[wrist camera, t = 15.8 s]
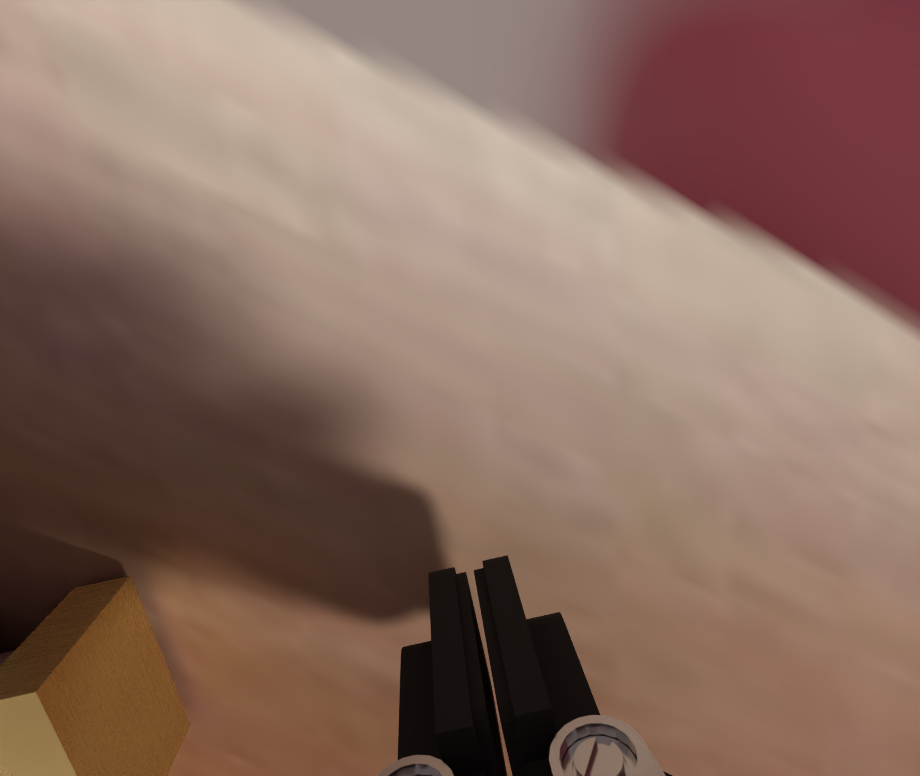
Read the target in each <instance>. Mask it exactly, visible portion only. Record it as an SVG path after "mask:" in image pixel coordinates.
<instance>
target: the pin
mask: <svg viewBox="0 0 920 776" xmlns="http://www.w3.org/2000/svg"><path fill="white" fill-rule="evenodd" d="M189 726H190V721H189V719H188V716H187V714H186V711H185V709H184V706H183V704H182V701H181V699H180V696H179V694H178V691H177V689H176V687H175V684H174V682H173V679H172V677H171V674H170V672H169V669H168V667H167V664H166V662H165V659H164V657H163V654H162V652H161V650H160V647H159V645H158V642H157V640H156V637H155V635H154V632H153V630H152V627H151V625H150V622H149V620H148V618H147V615H146V613H145V610H144V608H143V605H142V603H141V600H140V598H139V595H138V593H137V590H136V588H135V585H134V583H133V581H132V578H131V576H127V577H123V578H118V579H113V580H109V581H104V582H99V583H95V584H90V585H85V586H81V587H76V588H74V589H73V590H72V591H71V592H70V593H69V594H68V595H67V596H66V597H65V598H64V599H63V600H62V601H61V602H60V603H59V604H58V606H57V607H56V608H55V609H54V610H53V611H52V612H51V613H50V614H49V615H48V616H47V617H46V618H45V619H44V620H43V621H42V622H41V624H40V625H39V626H38V627H37V628H36V629H35V630H34V631H33V632H32V633H31V634H30V635H29V636H28V637H27V638H26V639H25V641H24V642H23V643H22V644H21V645H20V646H19V647H18V648H17V649H16V650H15V651H10V652H5V653H1V654H0V776H167V775H168V773H169V771H170V769H171V766H172V764H173V762H174V760H175V758H176V755H177V753H178V751H179V749H180V746H181V744H182V742H183V740H184V737H185V735H186V733H187V731H188V729H189Z"/></svg>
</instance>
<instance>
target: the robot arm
mask: <svg viewBox="0 0 920 776" xmlns="http://www.w3.org/2000/svg"><path fill="white" fill-rule="evenodd" d="M482 562H483V566H484V568H482V569H477V570H474V575H475V580H476V586H477V592H478V597H479V603H480V609H481V614H482V620H483V626H484V631H485V637H486V643H487V648H488V654H489V660H490V665H491V671H492V677H493V682H494V688H495V694H496V699H497V705H498V710H499V716H500V721H501V725H502V730H503V735H504V739H505V744H506V748H507V753H508V757H509V761H510V766H511V770H512V775H513V776H672V775H670V774H668V773H666V772H664V771H662V769H661V768H660V766H659V765H658V763H657V761H656V760H655V758H654V757H653V755H652V754H651V752H650V751H649V749H648V748H647V746H646V744H645V743H644V741H643V740H642V738H641V737H640V736H639V735H638V734H637V733H636V732H635V730H634V729H633V728H632V727H630V726H629V725H627V724H625V723H624V722H622V721H621V720H618V719H615V718H612V717H609V716H604V715H600V713H599V711H598V708H597V706H596V703H595V700H594V698H593V695H592V693H591V690H590V687H589V685H588V682H587V680H586V677H585V674H584V672H583V669H582V667H581V664H580V661H579V659H578V656H577V654H576V651H575V648H574V646H573V643H572V641H571V638H570V635H569V633H568V630H567V628H566V625H565V622H564V620H563V617H562V615H561V613H560V612H558V613H553V614H549V615H544V616H540V617H535V618H531V619H526V617H525V614H524V610H523V607H522V604H521V600H520V597H519V593H518V590H517V586H516V583H515V579H514V576H513V572H512V569H511V565H510V562H509V558H508V556H503V557H498V558H494V559H489V560H485V561H482ZM429 597H430V621H431V641H428V642H424V643H419V644H415V645H410V646H406V647H403V648H402V650H401V671H400V704H399V737H398V761H396V762H394V763H392V764H390V765H388V766H387V767H386V768H385V769H384V770H383V771H381V772H380V773H379V774H378V775H377V776H507V772H506V767H505V761H504V755H503V749H502V743H501V737H500V731H499V726H498V720H497V714H496V708H495V702H494V696H493V691H492V686H491V681H490V676H489V672H488V667H487V663H486V659H485V654H484V650H483V645H482V641H481V637H480V632H479V628H478V623H477V619H476V614H475V610H474V606H473V601H472V597H471V592H470V588H469V584H468V579H467V575H466V572H464V573H459V574H456V571H455V568H454V567H453V568H448V569H444V570H439V571H435V572H430V573H429Z"/></svg>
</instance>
